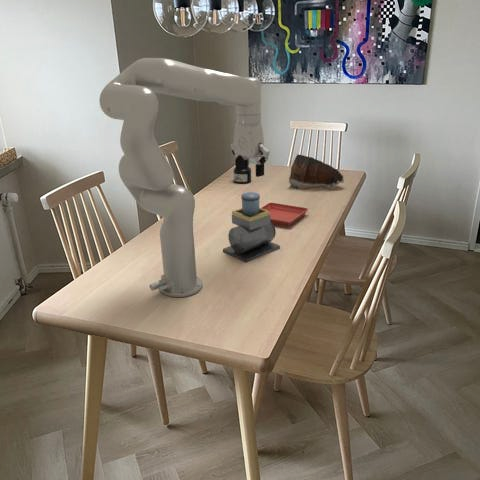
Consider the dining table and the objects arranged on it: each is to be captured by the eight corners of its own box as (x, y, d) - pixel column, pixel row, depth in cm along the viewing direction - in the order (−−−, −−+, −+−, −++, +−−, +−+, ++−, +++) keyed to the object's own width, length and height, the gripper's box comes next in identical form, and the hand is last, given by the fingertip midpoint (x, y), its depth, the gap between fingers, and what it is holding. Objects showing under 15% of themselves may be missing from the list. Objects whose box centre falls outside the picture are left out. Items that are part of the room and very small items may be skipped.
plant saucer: (269, 208, 204) (269, 201, 203) (308, 215, 195) (309, 207, 194) (249, 222, 190) (249, 214, 189) (290, 230, 181) (290, 222, 180)
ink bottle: (229, 182, 241) (228, 159, 236) (240, 178, 248) (239, 155, 243) (245, 185, 236) (244, 161, 231) (255, 181, 242) (255, 157, 237)
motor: (245, 262, 156) (244, 221, 150) (222, 251, 164) (221, 212, 158) (280, 248, 165) (280, 209, 160) (256, 238, 174) (256, 201, 168)
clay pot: (346, 168, 215) (293, 155, 221) (337, 200, 220) (286, 186, 226) (349, 164, 228) (300, 152, 235) (341, 194, 234) (293, 181, 240)
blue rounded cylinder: (250, 219, 156) (249, 199, 153) (238, 214, 160) (237, 195, 157) (263, 214, 159) (263, 194, 156) (251, 210, 164) (251, 191, 161)
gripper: (222, 118, 151) (223, 170, 157) (259, 124, 139) (259, 180, 145) (239, 115, 155) (240, 166, 162) (277, 120, 143) (276, 176, 150)
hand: (249, 173), depth 154 cm, fingers open, 9 cm apart
